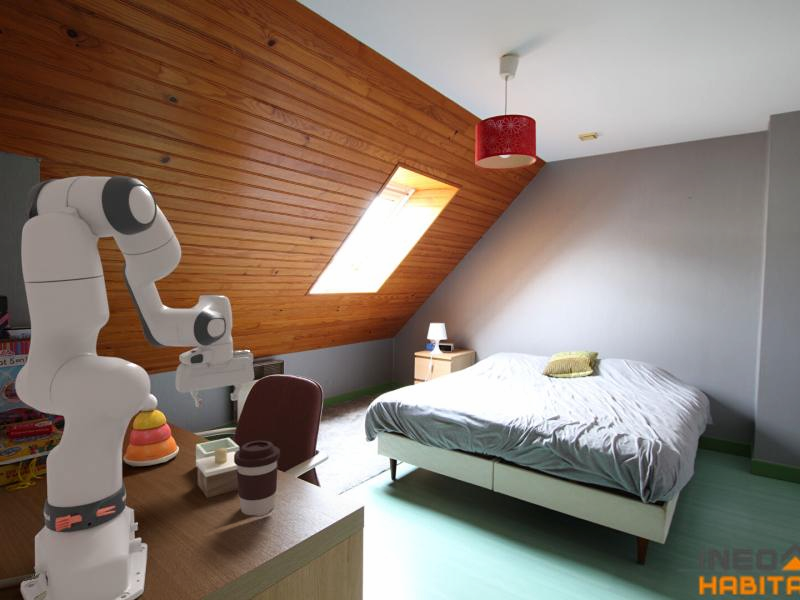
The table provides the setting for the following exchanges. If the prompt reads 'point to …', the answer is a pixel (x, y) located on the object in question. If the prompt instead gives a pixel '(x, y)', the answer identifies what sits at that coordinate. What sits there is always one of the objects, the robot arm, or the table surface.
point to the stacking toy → (150, 438)
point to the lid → (217, 463)
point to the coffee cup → (257, 477)
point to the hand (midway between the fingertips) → (217, 403)
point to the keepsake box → (217, 483)
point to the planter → (209, 448)
